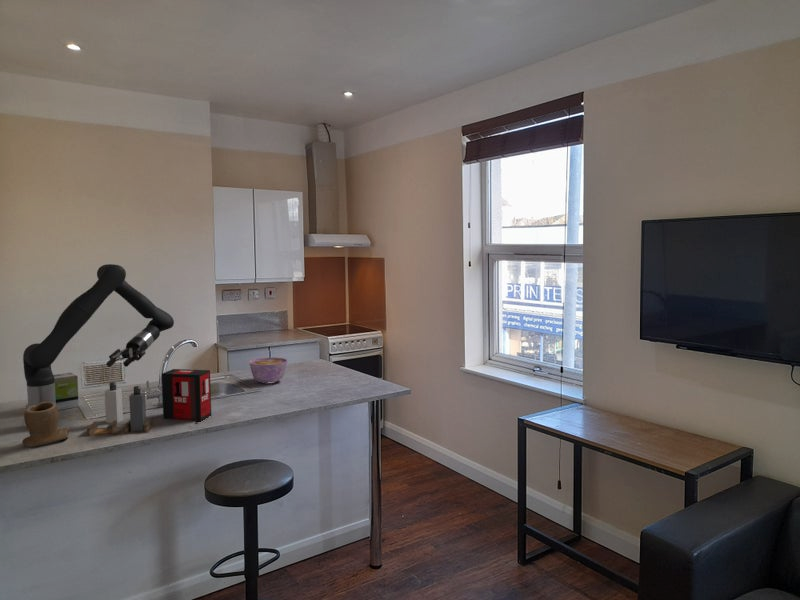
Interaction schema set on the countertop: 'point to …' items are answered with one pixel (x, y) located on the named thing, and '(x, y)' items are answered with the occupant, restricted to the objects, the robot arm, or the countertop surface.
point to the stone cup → (43, 424)
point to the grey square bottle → (137, 410)
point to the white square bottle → (113, 403)
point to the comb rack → (116, 429)
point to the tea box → (66, 390)
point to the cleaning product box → (186, 394)
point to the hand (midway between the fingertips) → (116, 365)
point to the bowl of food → (268, 369)
